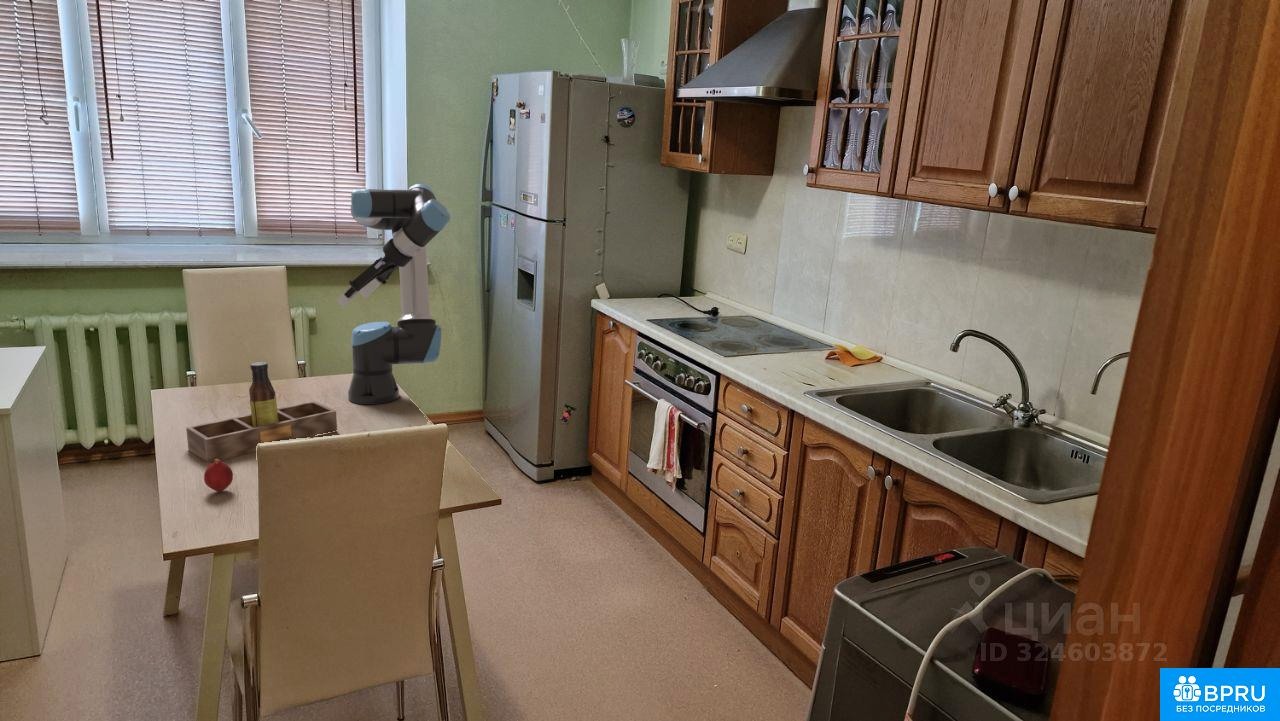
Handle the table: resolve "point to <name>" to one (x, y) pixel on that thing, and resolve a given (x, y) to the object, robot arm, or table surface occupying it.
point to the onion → (218, 476)
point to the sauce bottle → (262, 396)
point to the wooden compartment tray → (259, 431)
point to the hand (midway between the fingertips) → (351, 299)
